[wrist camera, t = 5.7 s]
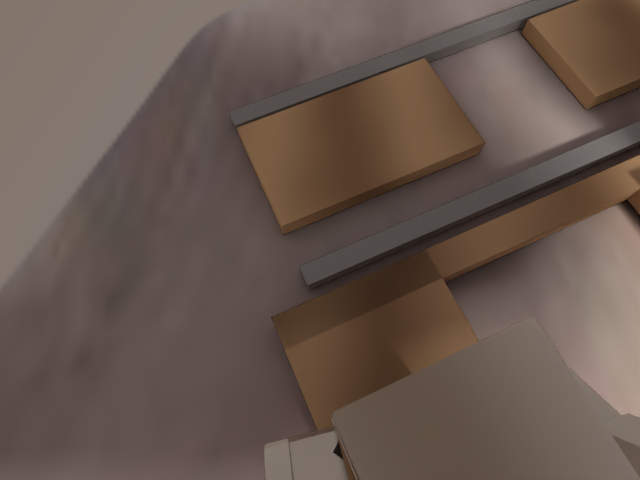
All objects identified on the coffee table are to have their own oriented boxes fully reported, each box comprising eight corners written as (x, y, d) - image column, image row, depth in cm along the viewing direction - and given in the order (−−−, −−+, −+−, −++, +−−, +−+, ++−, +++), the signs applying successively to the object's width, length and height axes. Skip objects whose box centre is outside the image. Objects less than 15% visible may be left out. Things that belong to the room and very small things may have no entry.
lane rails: (648, -34, 23) (656, -45, 23) (1063, 348, 15) (1090, 345, 15) (231, 120, 20) (228, 111, 19) (495, 700, 12) (503, 713, 12)
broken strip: (670, -23, 23) (682, -38, 22) (743, 43, 21) (759, 29, 20) (240, 139, 20) (236, 128, 19) (283, 234, 18) (281, 226, 17)
